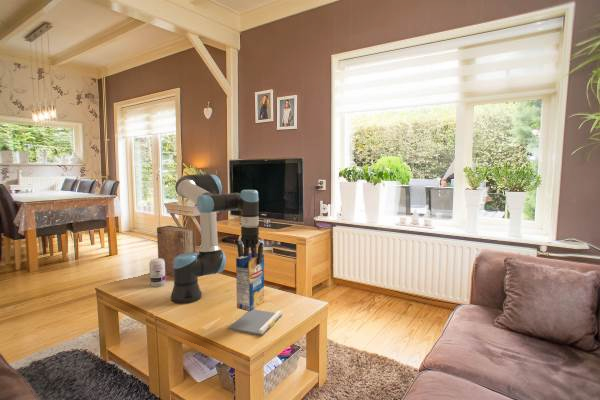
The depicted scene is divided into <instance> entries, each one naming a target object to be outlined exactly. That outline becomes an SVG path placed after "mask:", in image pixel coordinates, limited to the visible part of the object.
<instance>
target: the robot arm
mask: <svg viewBox="0 0 600 400" xmlns="http://www.w3.org/2000/svg"><path fill="white" fill-rule="evenodd" d="M174 189H175V192H176V194H177V195H178V196H179V197H181V198H183V199H188V200H189V201H191V202H193V203H194V204H196V208H197V210H198V212H199V223H200V226H199V227H200V238H201V239H200V241H201V247H200V248H199V251H198V254H197V252H196V253H195V252H190V253H189V252H188V253H183V254H180V255H178V256H176V257H175V258H174V264H173V268H174V277H173V288H172V291H171V295H170V301H171V303H173V304H177V305H183V304H184V305H185V304H191V303H195V302H198V301H199V300H201V299H202V291H201V288H200V286H199V281H198V278H199V277H203V276H208V275H209V276H210V275H216V274H219V273H222V272H223V271H224V269H225V267H226V264H227V258H226V253H225V252H224V251H223V250H222V248H221V247H220V246H219V241H218V240H219V237H218V223H217V221H218V220H217V213H218V212H219V213H220V212H230V211H240V225H241V227H240V233H241V237H240V239H237V240H235V244H236V247H237V256H238V257H241V256H243V257H246V256H248V255H249V253H252V257H253V258H255V257H257V265H259V264H260V263H262V254H264V253H263V251H264V246H265V244H266V242H265V241H262V240H260V236H259V234H260V231H259V230H260V229H259V223H260V221H259V218H260V217H259V216H260V215H259V211H260V210H259V205H260V204H259V201H260V198H259V192H258V190H256V189H242V190H241V191H240V192H232V193H222V191H223V190H222V189H223V187H222V182H221V180H220V178H219V177H218V176H217V175H216V174H209V173H208V174H207V173H206V174H205V173H204V174H186V175H183V176H181V177H180V178H179V179H177V181H176V183H175V185H174ZM250 251H251V252H250ZM238 257H237V258H238Z"/></svg>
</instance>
